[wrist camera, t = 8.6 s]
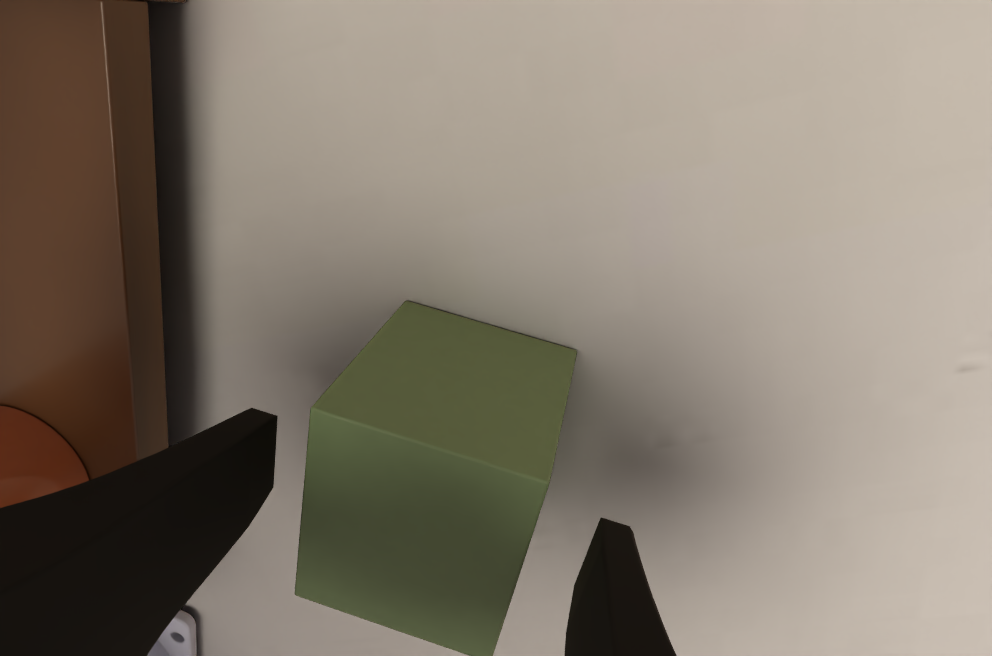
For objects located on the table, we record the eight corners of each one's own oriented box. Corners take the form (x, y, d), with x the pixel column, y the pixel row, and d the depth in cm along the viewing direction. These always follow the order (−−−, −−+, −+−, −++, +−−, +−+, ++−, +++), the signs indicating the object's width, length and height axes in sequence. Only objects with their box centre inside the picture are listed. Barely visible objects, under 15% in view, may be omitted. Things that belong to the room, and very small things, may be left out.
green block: (529, 502, 17) (490, 663, 13) (380, 454, 18) (293, 595, 13) (577, 349, 15) (549, 483, 11) (405, 299, 15) (308, 407, 11)
